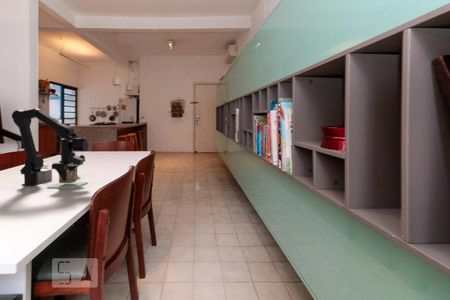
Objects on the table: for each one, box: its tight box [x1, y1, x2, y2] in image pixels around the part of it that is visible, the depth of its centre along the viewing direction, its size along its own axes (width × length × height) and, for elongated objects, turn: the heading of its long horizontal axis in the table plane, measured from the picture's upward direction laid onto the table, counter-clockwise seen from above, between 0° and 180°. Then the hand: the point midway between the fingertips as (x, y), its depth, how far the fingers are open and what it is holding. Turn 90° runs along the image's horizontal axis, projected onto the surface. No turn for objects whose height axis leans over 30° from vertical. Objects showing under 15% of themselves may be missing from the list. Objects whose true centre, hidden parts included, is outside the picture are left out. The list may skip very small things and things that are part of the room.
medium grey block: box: [38, 168, 53, 182], centre depth 179 cm, size 6×6×6 cm
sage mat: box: [46, 181, 88, 190], centre depth 166 cm, size 14×14×1 cm
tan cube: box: [58, 170, 77, 183], centre depth 165 cm, size 6×6×6 cm
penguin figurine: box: [41, 161, 49, 169], centre depth 190 cm, size 6×8×12 cm
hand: (67, 180), depth 166 cm, fingers closed on tan cube, 6 cm apart
